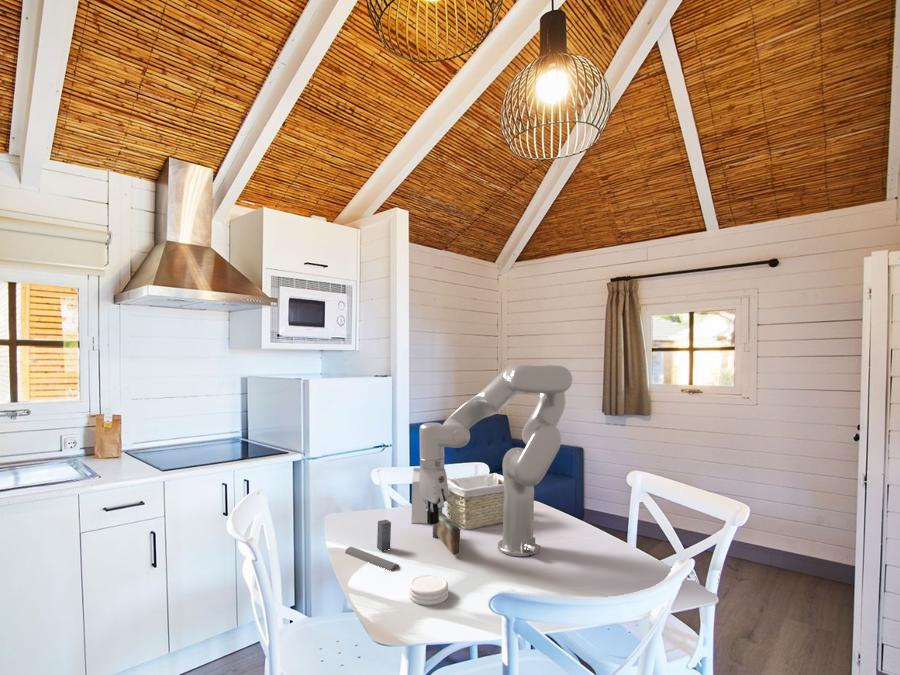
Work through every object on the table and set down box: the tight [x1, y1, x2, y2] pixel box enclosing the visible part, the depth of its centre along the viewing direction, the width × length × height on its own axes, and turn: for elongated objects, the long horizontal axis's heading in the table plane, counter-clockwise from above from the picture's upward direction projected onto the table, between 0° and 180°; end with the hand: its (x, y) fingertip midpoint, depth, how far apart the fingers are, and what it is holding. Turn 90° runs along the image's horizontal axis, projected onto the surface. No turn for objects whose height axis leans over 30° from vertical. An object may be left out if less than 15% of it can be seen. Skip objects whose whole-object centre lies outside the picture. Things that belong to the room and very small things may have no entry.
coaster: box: [408, 574, 449, 606], centre depth 127 cm, size 10×10×4 cm
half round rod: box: [344, 546, 400, 572], centre depth 148 cm, size 4×20×2 cm, turn 53°
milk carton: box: [410, 467, 428, 524], centre depth 182 cm, size 7×7×19 cm
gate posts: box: [376, 508, 443, 552], centre depth 161 cm, size 3×23×10 cm, turn 125°
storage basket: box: [445, 472, 504, 530], centre depth 185 cm, size 24×16×15 cm
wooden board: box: [437, 512, 461, 555], centre depth 158 cm, size 16×2×7 cm, turn 20°
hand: (433, 523), depth 154 cm, fingers closed
